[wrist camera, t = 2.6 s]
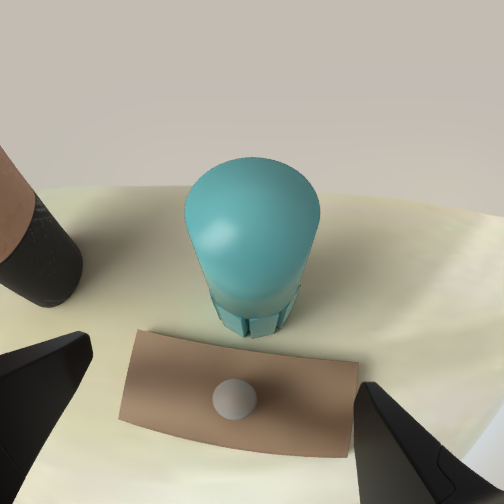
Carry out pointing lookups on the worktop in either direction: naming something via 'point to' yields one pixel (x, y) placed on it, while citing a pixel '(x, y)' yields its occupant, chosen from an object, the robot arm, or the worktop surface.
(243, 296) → the teal cap
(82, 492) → the worktop surface
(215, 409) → the brown block with knob
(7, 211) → the travel mug
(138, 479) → the worktop surface
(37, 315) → the worktop surface
